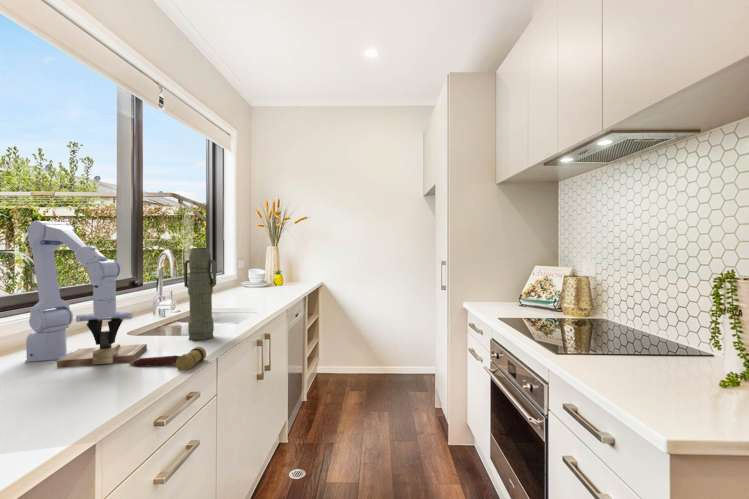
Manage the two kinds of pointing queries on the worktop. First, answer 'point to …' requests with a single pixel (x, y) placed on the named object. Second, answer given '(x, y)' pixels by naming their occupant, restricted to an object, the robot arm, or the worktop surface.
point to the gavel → (174, 360)
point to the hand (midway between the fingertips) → (105, 343)
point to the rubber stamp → (104, 349)
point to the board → (123, 355)
